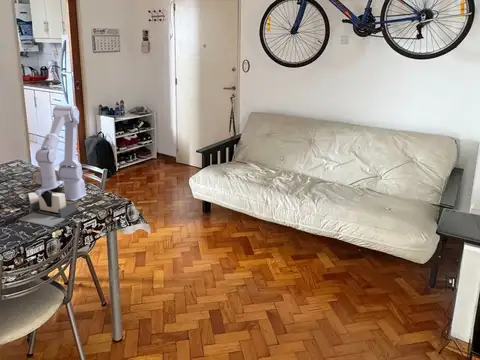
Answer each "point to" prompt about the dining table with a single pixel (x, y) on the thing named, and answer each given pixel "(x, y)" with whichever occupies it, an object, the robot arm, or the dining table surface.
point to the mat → (41, 219)
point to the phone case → (32, 197)
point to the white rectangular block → (53, 202)
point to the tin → (38, 178)
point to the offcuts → (70, 203)
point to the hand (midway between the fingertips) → (52, 204)
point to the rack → (62, 211)
